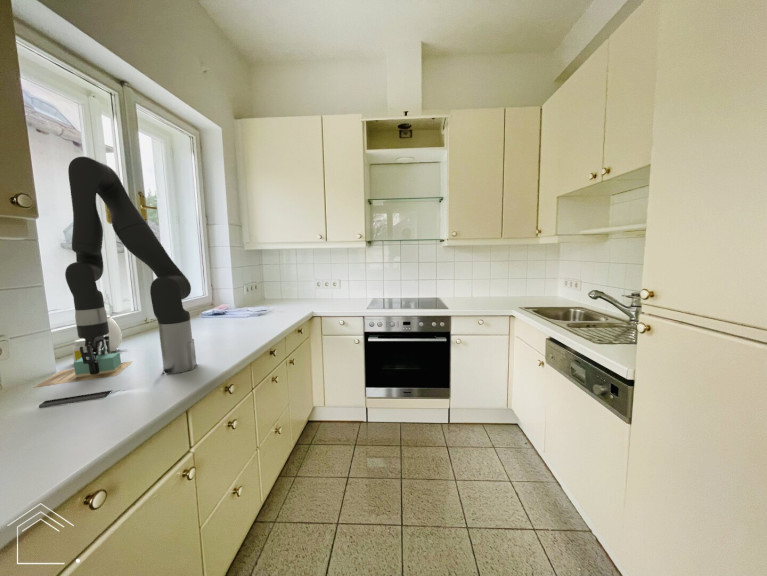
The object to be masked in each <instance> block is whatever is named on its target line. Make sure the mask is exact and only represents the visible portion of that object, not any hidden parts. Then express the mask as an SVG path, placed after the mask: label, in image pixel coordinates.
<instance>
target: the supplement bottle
mask: <svg viewBox="0 0 767 576" xmlns="http://www.w3.org/2000/svg"><path fill="white" fill-rule="evenodd" d="M73 343H74V344H73V345H74V346H73V347H72V356H73V363H74V362H75V361H77V360H78V359H80V358H82V356H81V352H80V347H83V346H85V339H84V338H78V339H76V340H73Z"/></svg>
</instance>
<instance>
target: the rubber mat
mask: <svg viewBox="0 0 767 576" xmlns="http://www.w3.org/2000/svg"><path fill="white" fill-rule="evenodd" d="M113 391H114V390H104V391H100V392H93V393H92V392H91V393H88V394H86V393H85V394H82V395H81V394H79V395H74V396H73V395H72V396H68V397H61V398H54V399H47V400H45V401H43V402H42V403H40V404H39V405H38V409H44V408H49V407H55V406H63V405H67V404H68V403H69V404H73V403H74V402H75V403H80V402H86V401H93V400H99V399H104V398H107V397H108V395H110V394H111V393H112V392H113ZM110 392H111V393H110ZM62 404H63V405H62Z"/></svg>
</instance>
